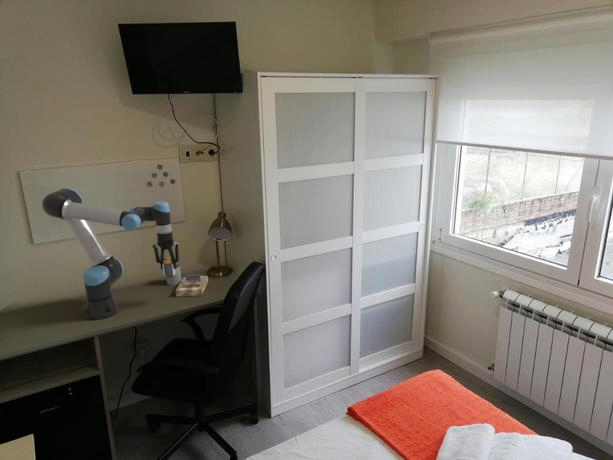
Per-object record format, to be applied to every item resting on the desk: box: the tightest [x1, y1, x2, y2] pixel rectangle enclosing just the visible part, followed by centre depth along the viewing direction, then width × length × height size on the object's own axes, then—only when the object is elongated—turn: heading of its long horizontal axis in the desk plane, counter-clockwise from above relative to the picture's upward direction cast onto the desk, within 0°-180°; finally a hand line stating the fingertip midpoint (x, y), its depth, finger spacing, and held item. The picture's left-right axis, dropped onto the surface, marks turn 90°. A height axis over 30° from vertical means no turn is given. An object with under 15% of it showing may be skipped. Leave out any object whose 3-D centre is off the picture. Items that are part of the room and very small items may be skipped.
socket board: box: [175, 275, 209, 297], centre depth 258 cm, size 14×20×4 cm
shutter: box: [181, 273, 205, 283], centre depth 260 cm, size 12×7×3 cm, turn 92°
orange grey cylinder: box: [163, 257, 174, 279], centre depth 239 cm, size 5×5×10 cm
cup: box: [166, 263, 182, 286], centre depth 267 cm, size 8×8×10 cm
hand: (169, 274), depth 240 cm, fingers closed on orange grey cylinder, 4 cm apart
